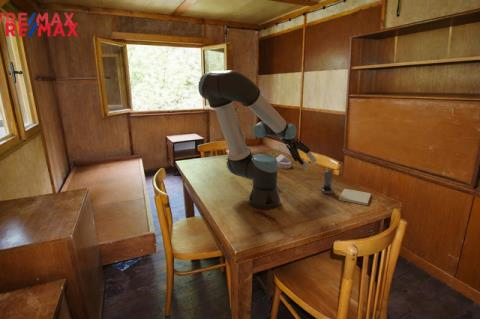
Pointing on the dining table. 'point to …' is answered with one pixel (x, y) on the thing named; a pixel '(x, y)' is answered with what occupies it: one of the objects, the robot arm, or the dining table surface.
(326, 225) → the dining table surface
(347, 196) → the pad
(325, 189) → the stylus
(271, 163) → the robot arm
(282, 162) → the wedge on round base
